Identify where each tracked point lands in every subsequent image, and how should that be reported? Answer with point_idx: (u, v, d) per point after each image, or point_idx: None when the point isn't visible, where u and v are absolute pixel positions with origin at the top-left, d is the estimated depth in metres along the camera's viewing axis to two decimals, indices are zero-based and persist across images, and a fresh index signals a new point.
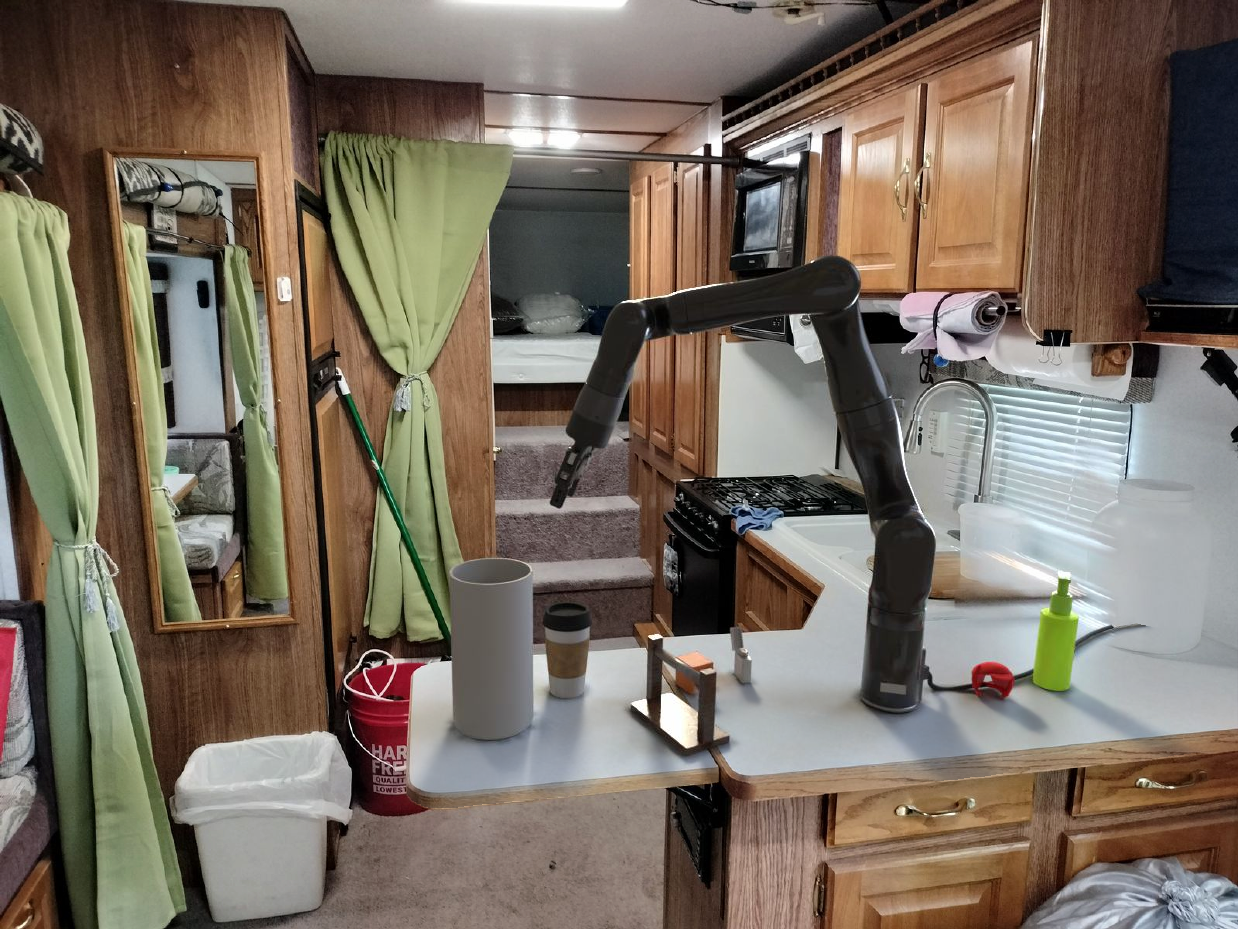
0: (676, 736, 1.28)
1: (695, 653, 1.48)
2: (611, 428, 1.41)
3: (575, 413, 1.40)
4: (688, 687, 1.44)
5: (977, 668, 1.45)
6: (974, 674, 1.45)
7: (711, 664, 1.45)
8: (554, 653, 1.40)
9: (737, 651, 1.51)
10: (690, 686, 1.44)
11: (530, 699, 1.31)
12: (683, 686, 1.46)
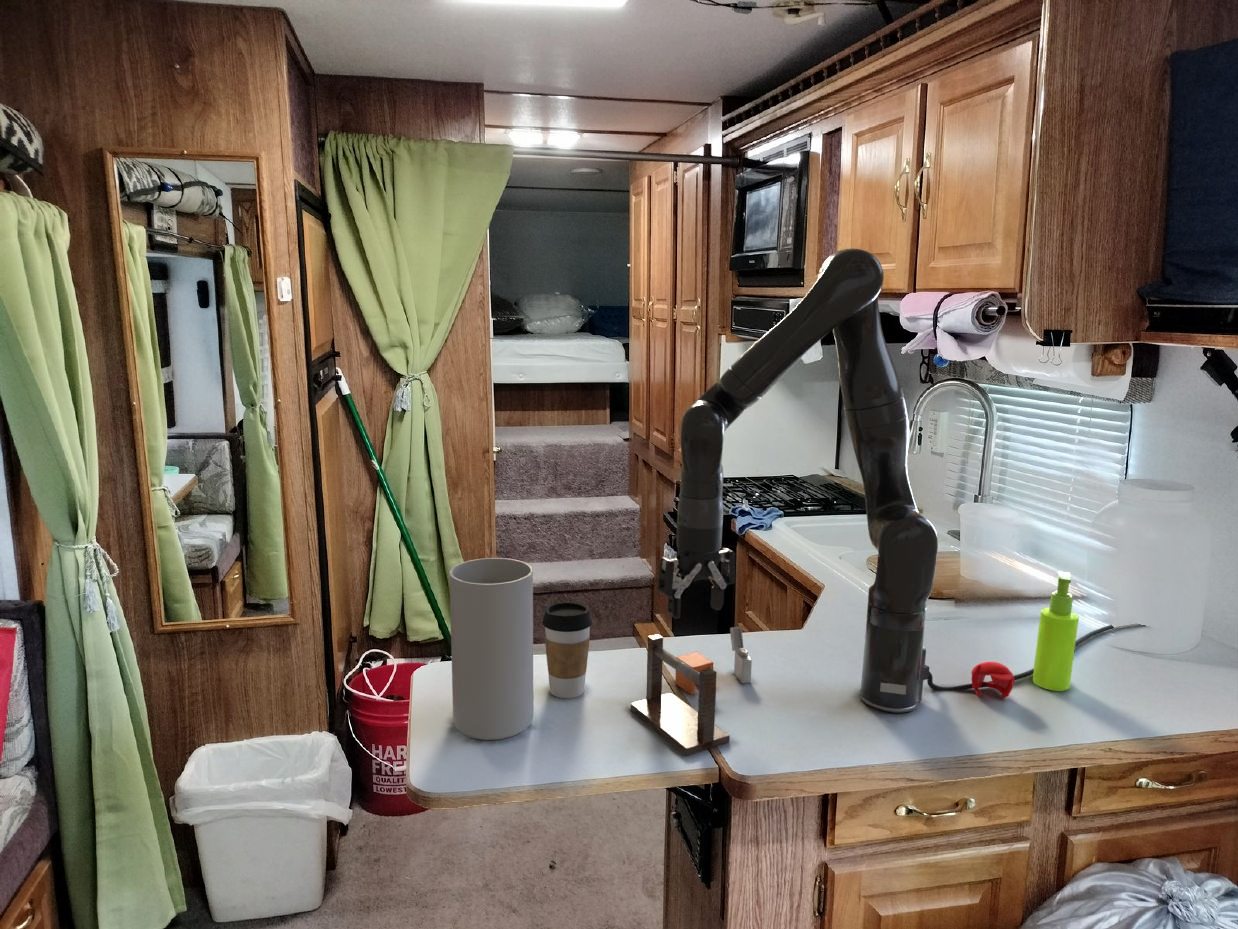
0: (676, 736, 1.28)
1: (695, 653, 1.48)
2: (706, 531, 1.37)
3: None
4: (688, 687, 1.44)
5: (977, 668, 1.45)
6: (974, 674, 1.45)
7: (711, 664, 1.45)
8: (554, 653, 1.40)
9: (737, 651, 1.51)
10: (690, 686, 1.44)
11: (530, 699, 1.31)
12: (683, 686, 1.46)
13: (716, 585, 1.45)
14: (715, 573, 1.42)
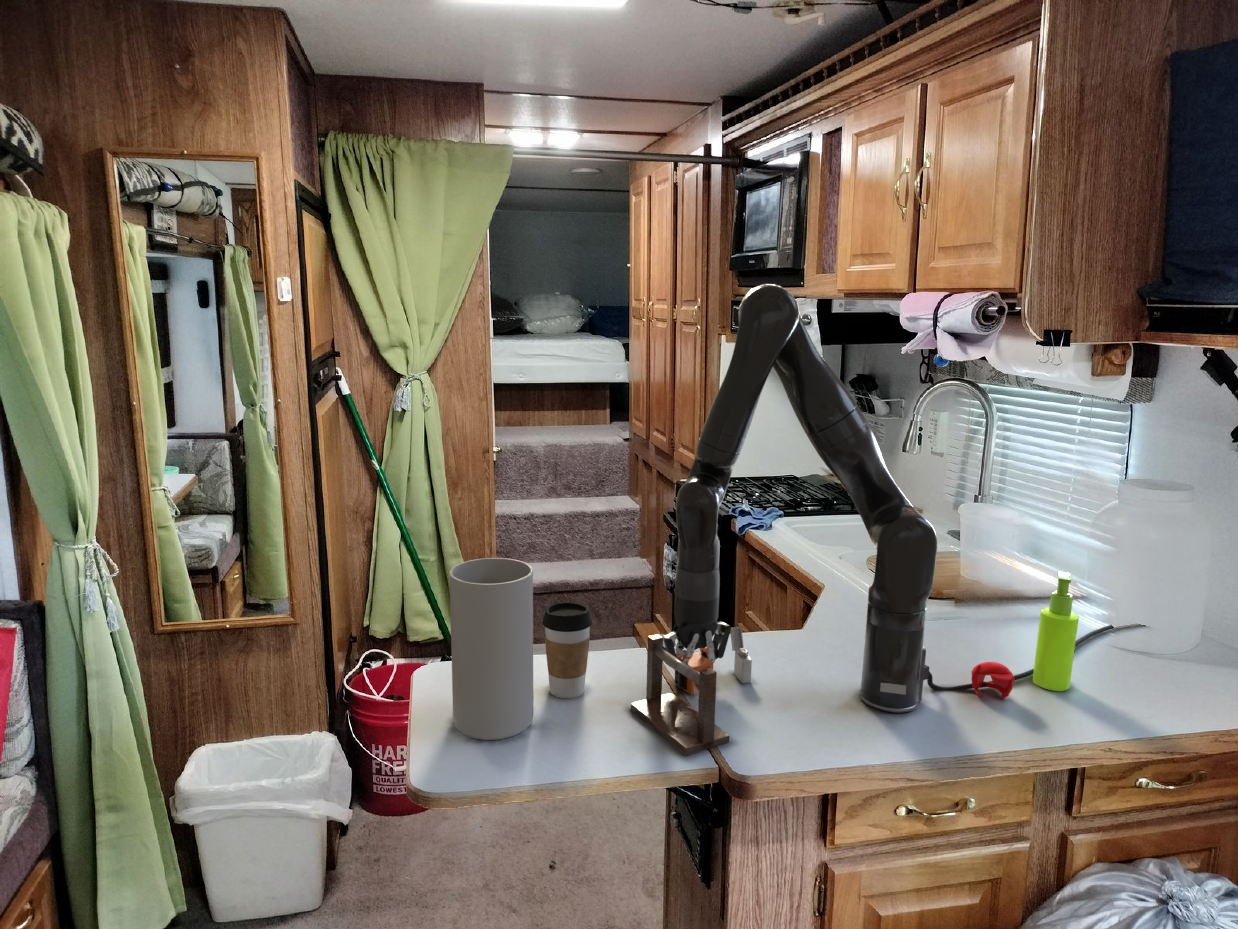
0: (676, 736, 1.28)
1: (695, 653, 1.48)
2: (703, 603, 1.40)
3: None
4: (688, 687, 1.44)
5: (977, 668, 1.45)
6: (974, 674, 1.45)
7: (711, 664, 1.45)
8: (554, 653, 1.40)
9: (737, 651, 1.51)
10: (690, 686, 1.44)
11: (530, 699, 1.31)
12: None
13: None
14: (709, 644, 1.45)
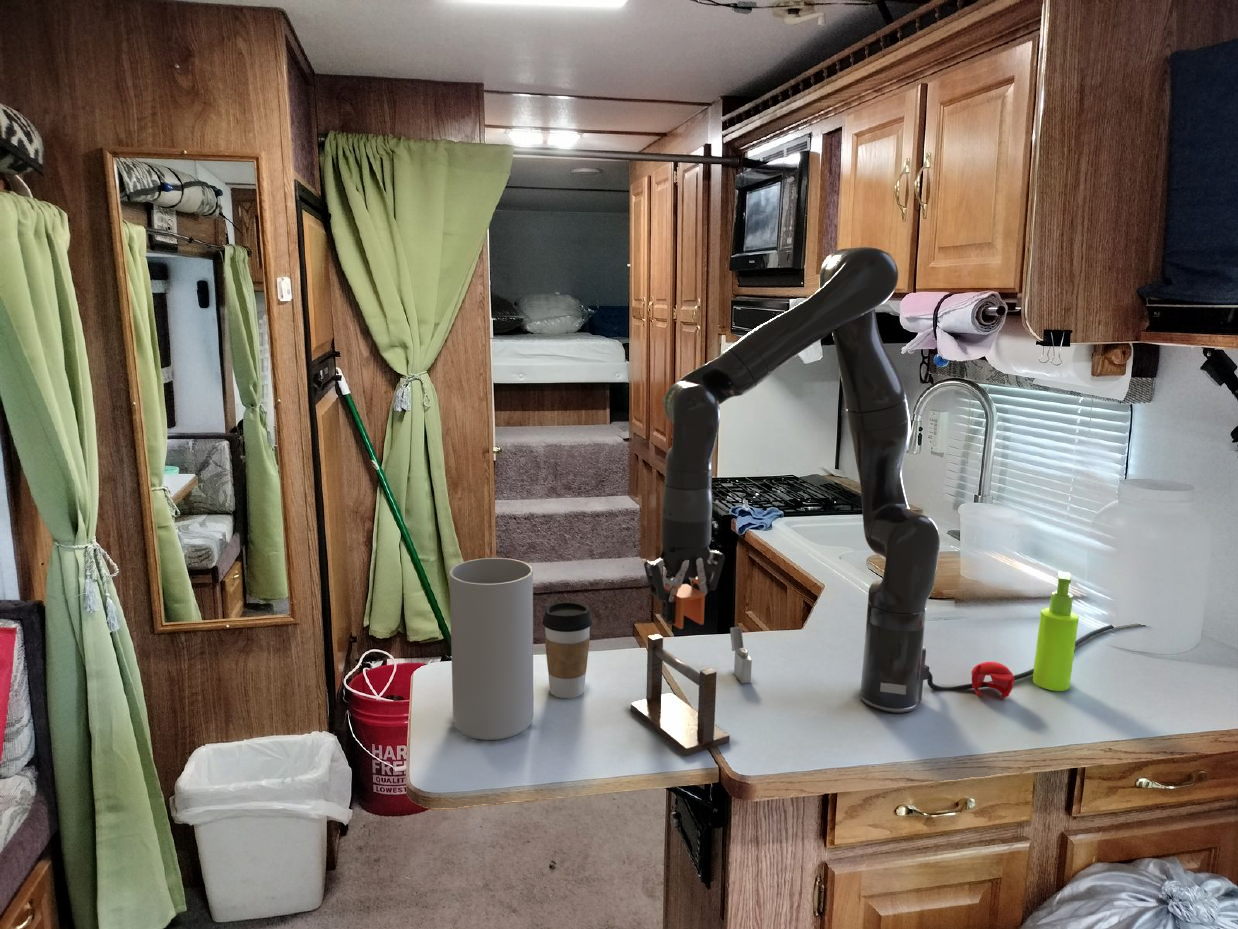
0: (676, 736, 1.28)
1: (685, 585, 1.33)
2: (693, 525, 1.25)
3: None
4: (677, 620, 1.29)
5: (977, 668, 1.45)
6: (974, 674, 1.45)
7: (702, 595, 1.30)
8: (554, 653, 1.40)
9: (737, 651, 1.51)
10: (678, 619, 1.29)
11: (530, 699, 1.31)
12: None
13: None
14: (700, 573, 1.30)
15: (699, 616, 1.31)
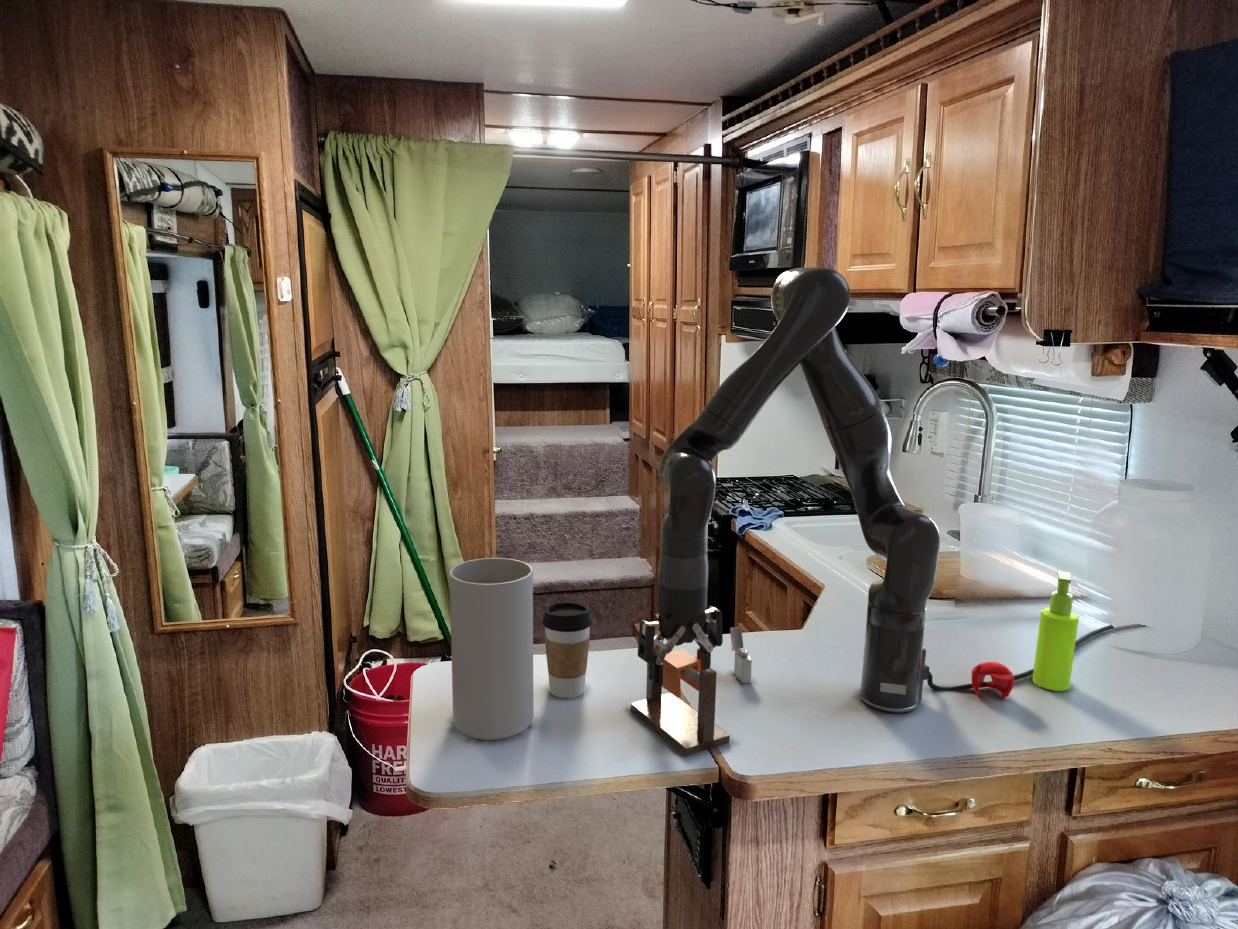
0: (676, 736, 1.28)
1: (680, 651, 1.34)
2: (689, 592, 1.25)
3: None
4: (674, 689, 1.30)
5: (977, 668, 1.45)
6: (974, 674, 1.45)
7: (698, 663, 1.30)
8: (554, 653, 1.40)
9: (737, 651, 1.51)
10: (676, 688, 1.29)
11: (530, 699, 1.31)
12: (669, 689, 1.31)
13: (702, 647, 1.33)
14: (700, 636, 1.30)
15: None
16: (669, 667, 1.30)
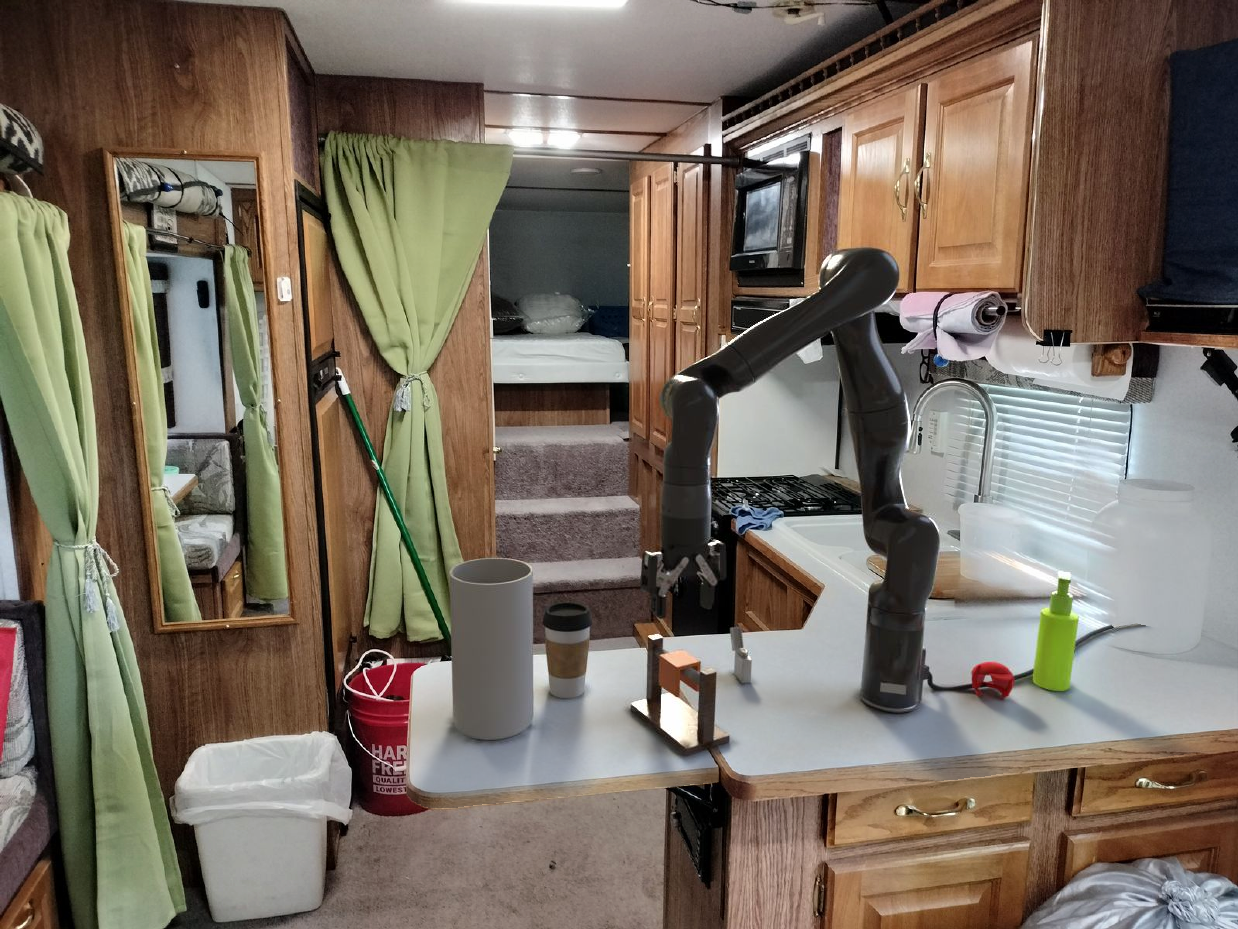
0: (676, 736, 1.28)
1: (681, 651, 1.34)
2: (692, 521, 1.23)
3: None
4: (673, 689, 1.30)
5: (977, 668, 1.45)
6: (974, 674, 1.45)
7: (698, 663, 1.30)
8: (554, 653, 1.40)
9: (737, 651, 1.51)
10: (675, 688, 1.29)
11: (530, 699, 1.31)
12: (667, 688, 1.31)
13: (706, 581, 1.31)
14: (704, 568, 1.28)
15: (695, 683, 1.31)
16: (669, 666, 1.30)
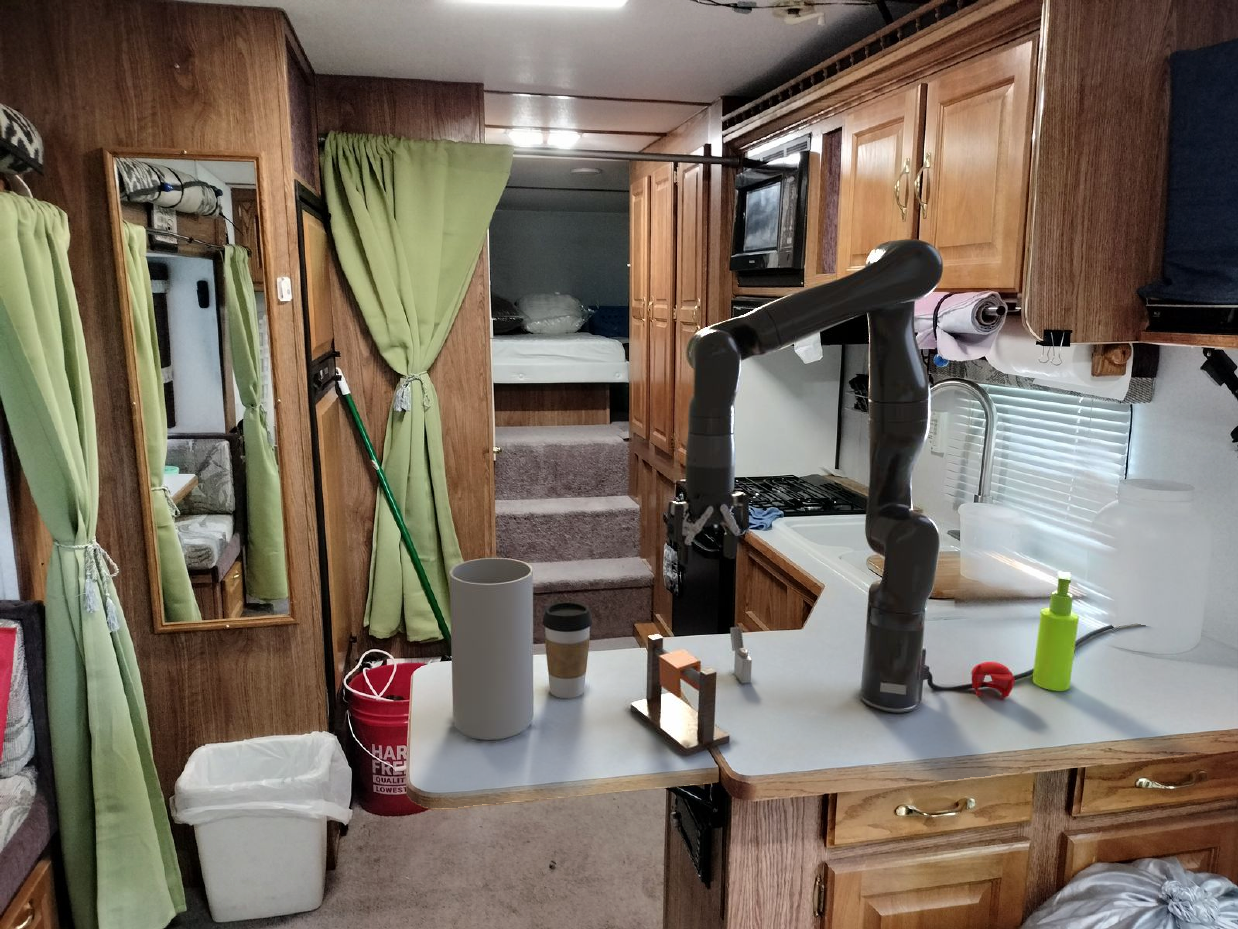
0: (676, 736, 1.28)
1: (680, 651, 1.34)
2: (717, 470, 1.27)
3: None
4: (674, 689, 1.30)
5: (977, 668, 1.45)
6: (974, 674, 1.45)
7: (698, 663, 1.30)
8: (554, 653, 1.40)
9: (737, 651, 1.51)
10: (676, 688, 1.29)
11: (530, 699, 1.31)
12: (669, 689, 1.31)
13: (729, 531, 1.35)
14: (728, 517, 1.32)
15: None
16: (669, 667, 1.30)
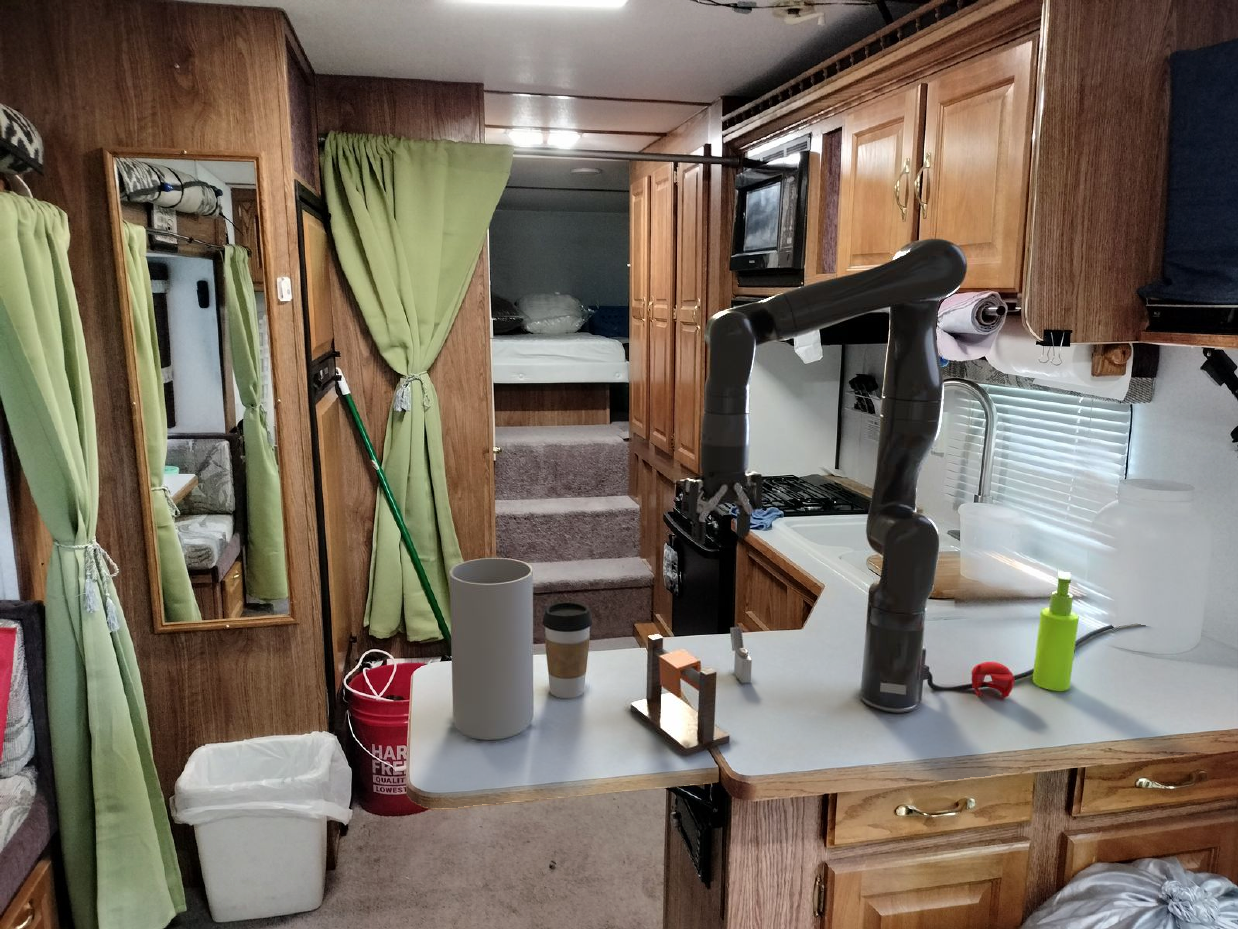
0: (676, 736, 1.28)
1: (680, 651, 1.34)
2: (732, 449, 1.29)
3: None
4: (674, 689, 1.30)
5: (977, 668, 1.45)
6: (974, 674, 1.45)
7: (698, 663, 1.30)
8: (554, 653, 1.40)
9: (737, 651, 1.51)
10: (676, 688, 1.29)
11: (530, 699, 1.31)
12: (669, 689, 1.31)
13: (742, 510, 1.37)
14: (741, 496, 1.35)
15: None
16: (669, 667, 1.30)
